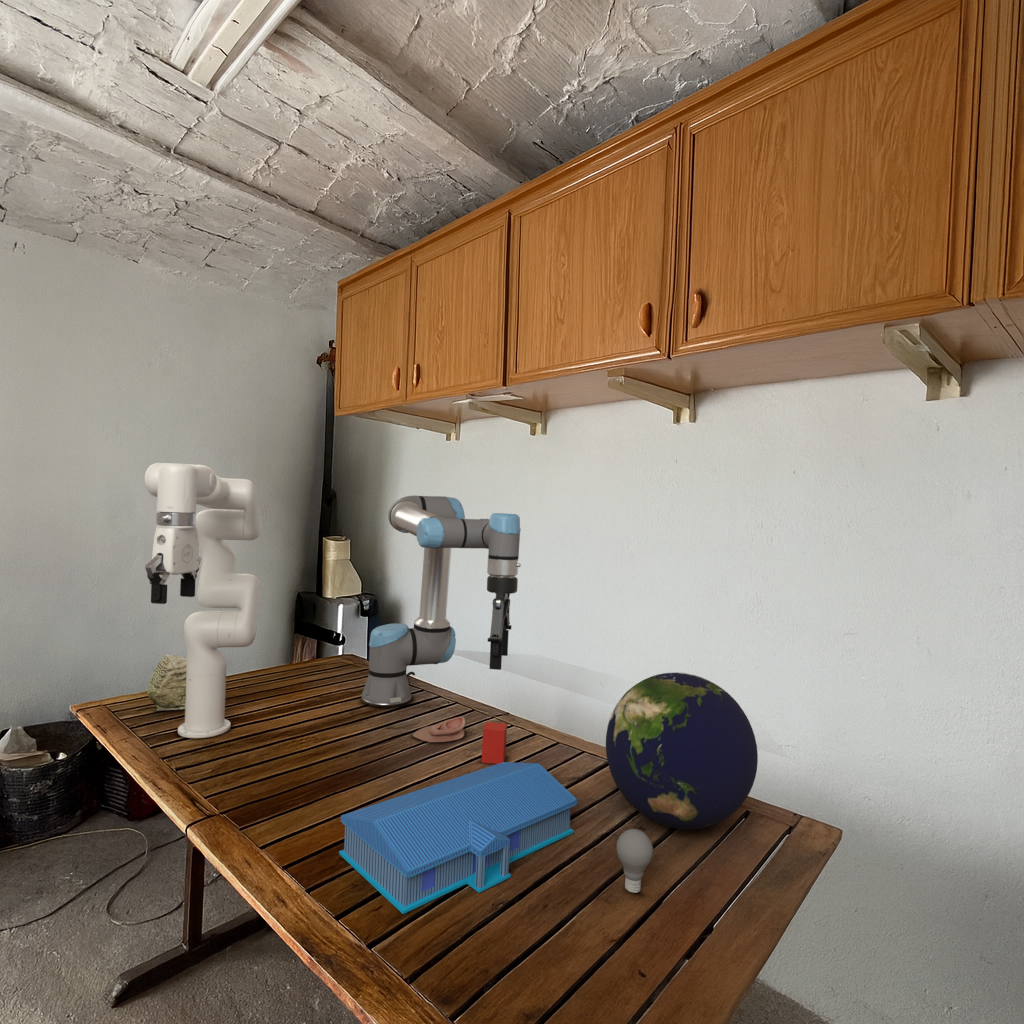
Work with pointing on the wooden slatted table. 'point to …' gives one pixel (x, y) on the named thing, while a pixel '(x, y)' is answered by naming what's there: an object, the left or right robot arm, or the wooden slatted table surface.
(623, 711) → the globe
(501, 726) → the brick
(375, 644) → the right robot arm
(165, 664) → the fossil
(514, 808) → the model building
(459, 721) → the anatomical model
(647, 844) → the light bulb
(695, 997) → the wooden slatted table surface
